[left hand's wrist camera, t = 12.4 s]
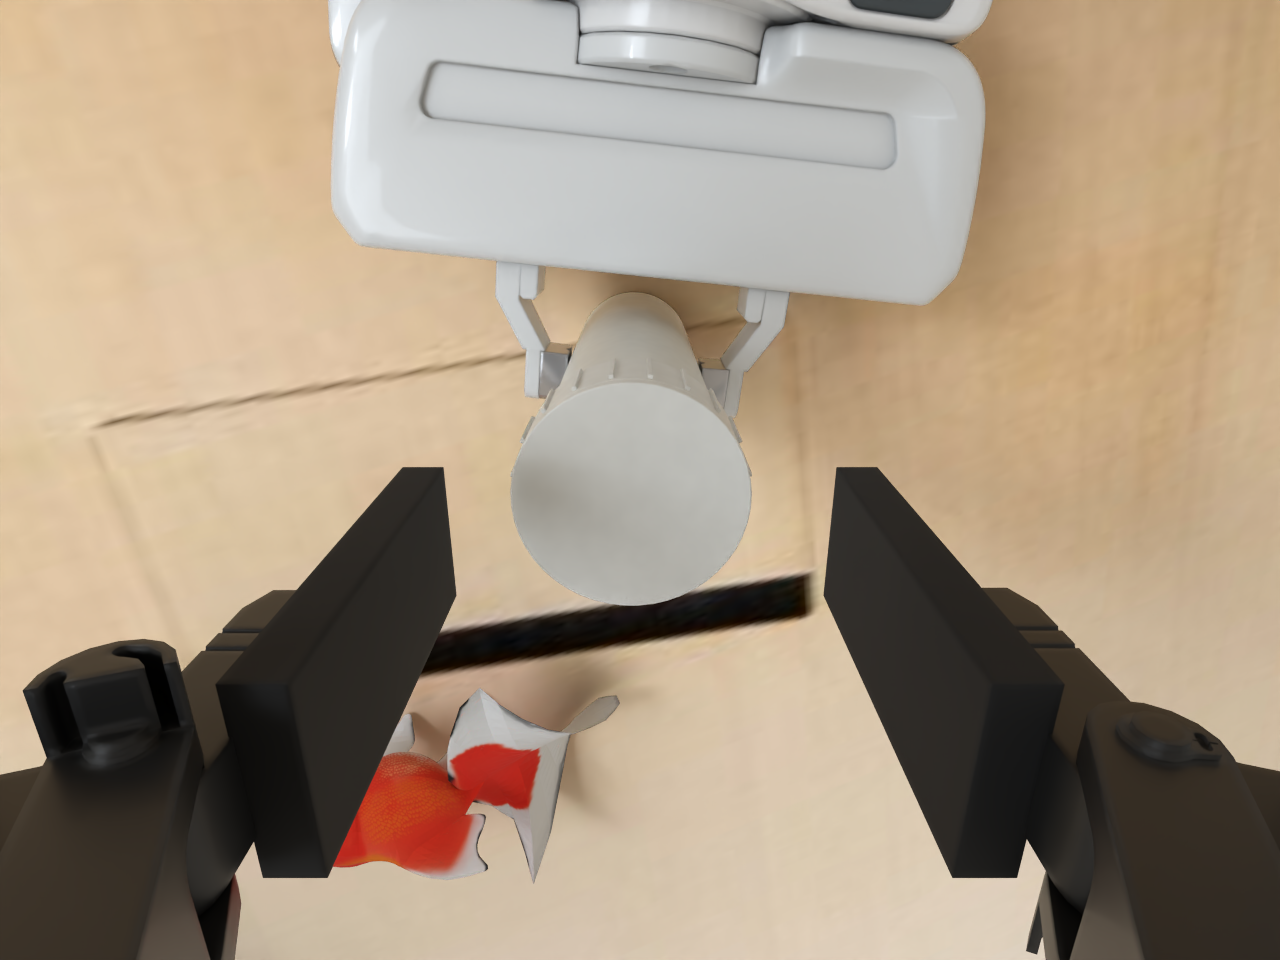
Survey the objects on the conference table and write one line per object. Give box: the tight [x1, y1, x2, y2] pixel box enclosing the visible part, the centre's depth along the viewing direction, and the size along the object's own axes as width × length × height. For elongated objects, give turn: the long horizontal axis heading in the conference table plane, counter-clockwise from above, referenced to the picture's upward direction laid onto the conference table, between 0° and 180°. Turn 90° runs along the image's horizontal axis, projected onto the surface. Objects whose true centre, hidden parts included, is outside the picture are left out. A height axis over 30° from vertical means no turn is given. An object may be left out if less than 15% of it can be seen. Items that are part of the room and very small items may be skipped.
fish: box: [333, 688, 620, 884], centre depth 36 cm, size 11×16×10 cm
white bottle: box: [560, 292, 706, 387], centre depth 25 cm, size 5×5×17 cm
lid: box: [510, 358, 752, 605], centre depth 17 cm, size 5×5×2 cm
